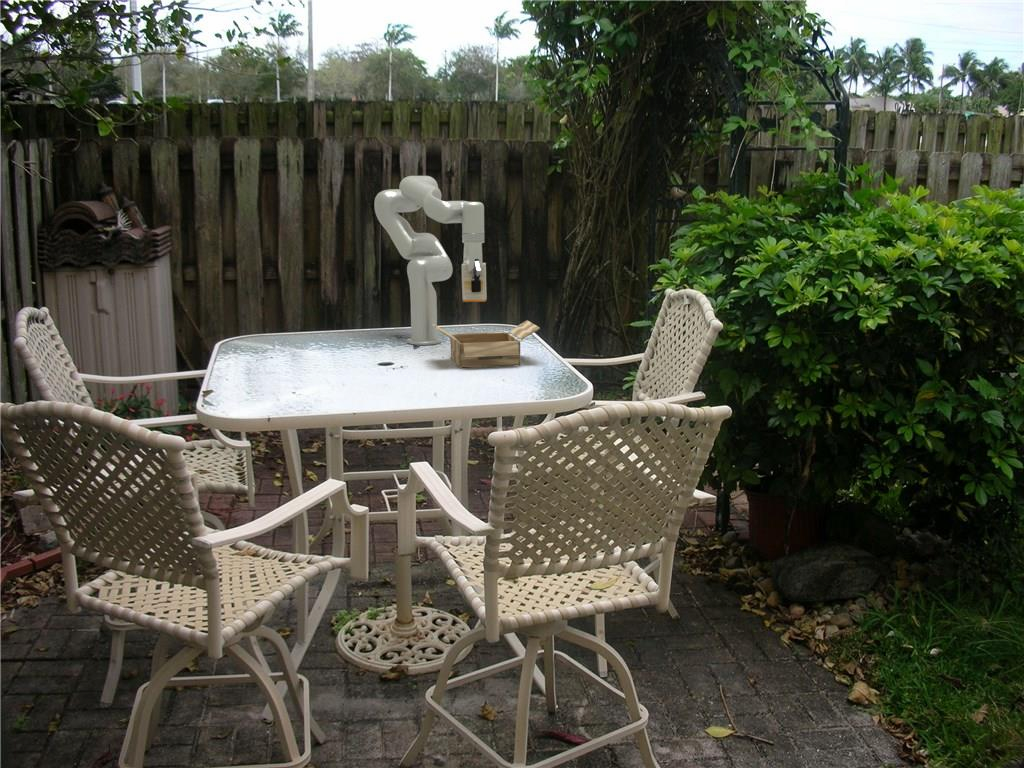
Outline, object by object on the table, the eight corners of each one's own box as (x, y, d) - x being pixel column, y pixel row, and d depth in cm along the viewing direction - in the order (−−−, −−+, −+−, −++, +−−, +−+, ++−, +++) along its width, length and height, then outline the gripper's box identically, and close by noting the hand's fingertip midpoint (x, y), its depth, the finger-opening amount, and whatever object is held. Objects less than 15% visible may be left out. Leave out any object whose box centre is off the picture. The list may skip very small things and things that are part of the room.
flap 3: (463, 343, 309) (464, 357, 308) (517, 340, 314) (519, 354, 312) (463, 343, 310) (464, 357, 308) (517, 341, 314) (519, 355, 313)
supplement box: (486, 300, 337) (486, 262, 334) (485, 302, 333) (485, 264, 330) (463, 300, 338) (462, 262, 335) (461, 302, 333) (461, 264, 330)
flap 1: (449, 334, 325) (431, 323, 323) (449, 333, 325) (431, 322, 323) (457, 342, 310) (439, 331, 308) (458, 341, 310) (439, 330, 308)
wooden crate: (450, 358, 328) (450, 335, 326) (507, 355, 332) (508, 333, 331) (460, 368, 311) (459, 343, 310) (520, 365, 316) (520, 341, 314)
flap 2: (453, 334, 326) (452, 345, 330) (505, 332, 331) (503, 343, 334) (453, 333, 327) (451, 344, 330) (504, 331, 331) (503, 342, 334)
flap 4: (509, 331, 330) (527, 320, 331) (510, 332, 330) (527, 321, 331) (521, 339, 315) (539, 327, 316) (521, 340, 315) (540, 328, 316)
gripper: (457, 237, 338) (458, 288, 342) (467, 240, 321) (468, 294, 325) (478, 236, 340) (479, 288, 343) (489, 239, 323) (490, 293, 327)
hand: (474, 290), depth 334 cm, fingers closed on supplement box, 6 cm apart
